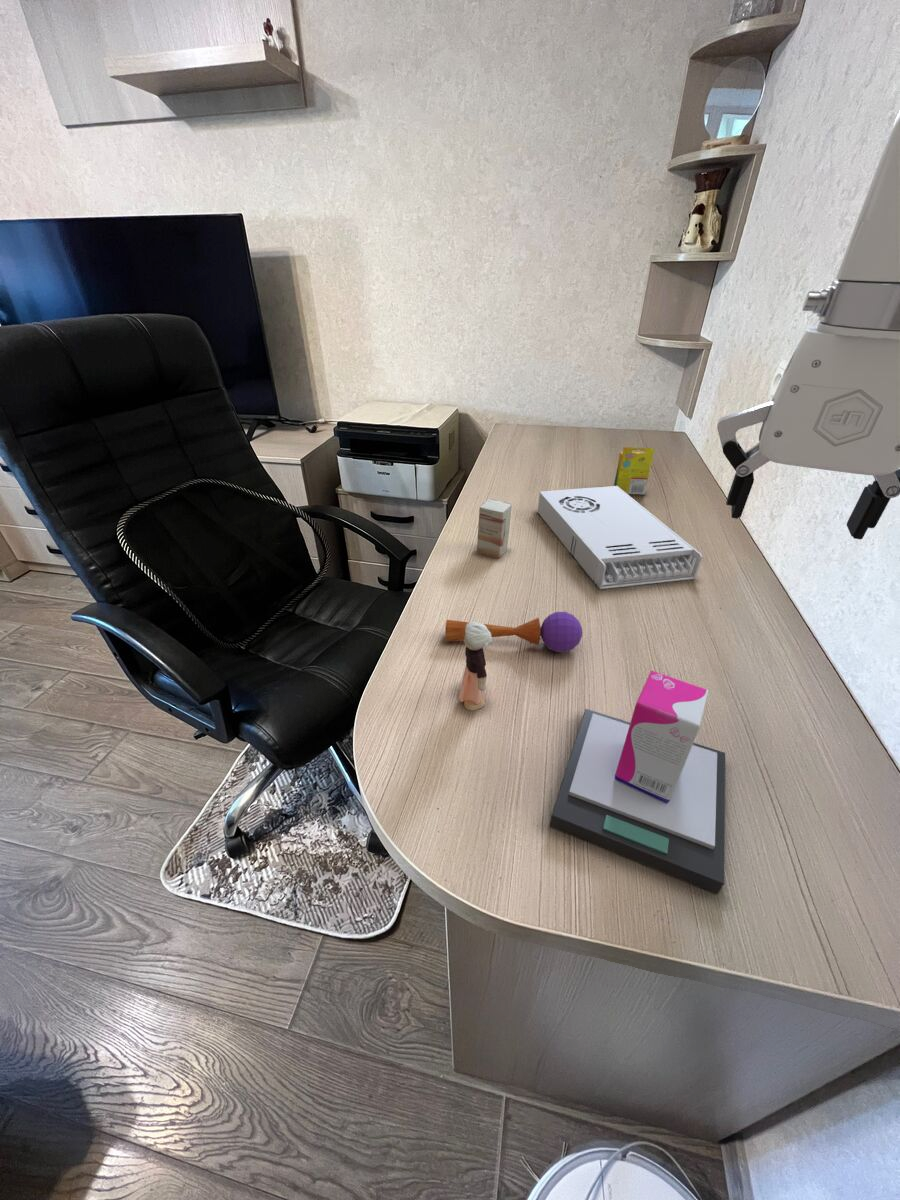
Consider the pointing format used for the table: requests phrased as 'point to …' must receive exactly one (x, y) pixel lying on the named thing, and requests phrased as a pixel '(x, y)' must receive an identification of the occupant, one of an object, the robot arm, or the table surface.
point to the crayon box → (633, 470)
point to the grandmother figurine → (474, 665)
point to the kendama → (531, 631)
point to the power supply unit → (617, 537)
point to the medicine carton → (493, 528)
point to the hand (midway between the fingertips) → (792, 522)
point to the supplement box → (661, 735)
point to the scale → (645, 807)
